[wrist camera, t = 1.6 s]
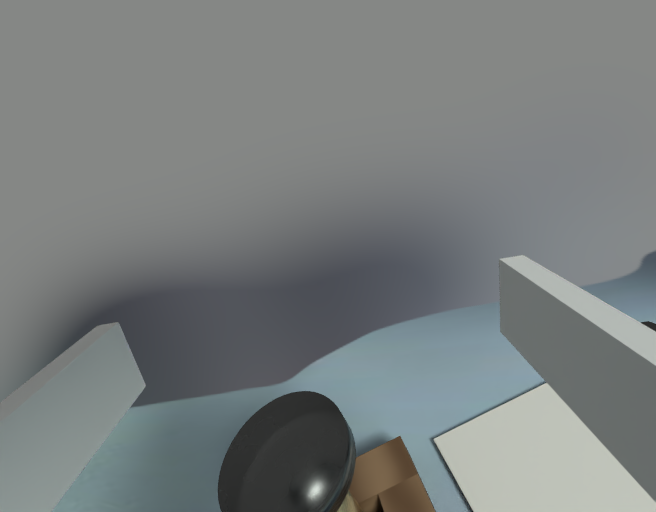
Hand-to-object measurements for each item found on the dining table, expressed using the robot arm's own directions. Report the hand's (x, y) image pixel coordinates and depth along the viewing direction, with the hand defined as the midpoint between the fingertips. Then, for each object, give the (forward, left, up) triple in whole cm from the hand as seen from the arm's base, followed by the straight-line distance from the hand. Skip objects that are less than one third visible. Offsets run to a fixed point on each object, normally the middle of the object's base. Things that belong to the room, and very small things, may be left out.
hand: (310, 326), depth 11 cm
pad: (-11, -5, -29) cm, 32 cm away
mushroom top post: (+6, -5, -29) cm, 31 cm away
